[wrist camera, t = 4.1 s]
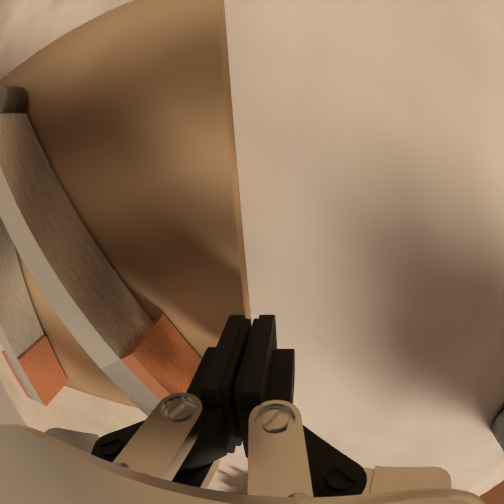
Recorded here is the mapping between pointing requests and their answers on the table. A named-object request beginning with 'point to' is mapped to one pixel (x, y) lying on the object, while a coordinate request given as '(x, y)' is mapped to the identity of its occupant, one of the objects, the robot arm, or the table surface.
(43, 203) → the tong leg
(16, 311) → the bar
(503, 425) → the moka pot
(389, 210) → the table surface
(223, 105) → the board
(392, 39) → the table surface
